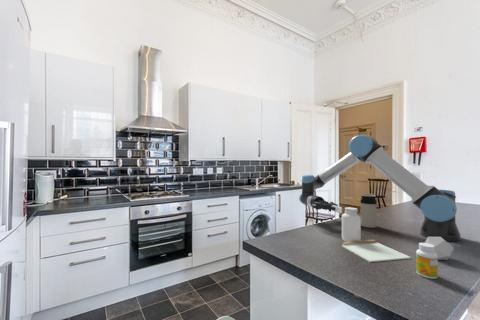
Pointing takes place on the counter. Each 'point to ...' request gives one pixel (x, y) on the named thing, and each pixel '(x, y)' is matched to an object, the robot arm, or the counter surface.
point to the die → (440, 247)
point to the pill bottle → (351, 225)
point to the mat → (375, 252)
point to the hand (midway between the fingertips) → (340, 210)
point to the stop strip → (358, 242)
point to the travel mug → (368, 211)
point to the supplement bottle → (427, 261)
